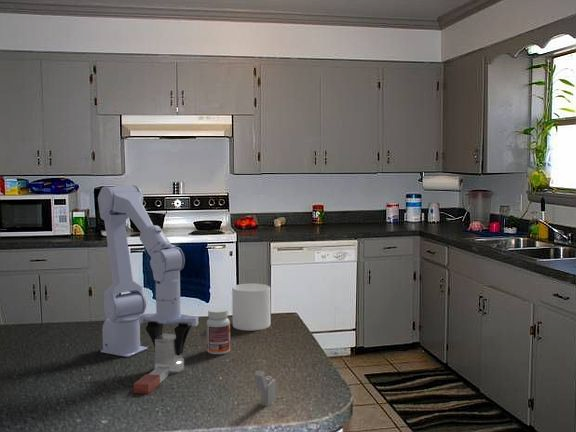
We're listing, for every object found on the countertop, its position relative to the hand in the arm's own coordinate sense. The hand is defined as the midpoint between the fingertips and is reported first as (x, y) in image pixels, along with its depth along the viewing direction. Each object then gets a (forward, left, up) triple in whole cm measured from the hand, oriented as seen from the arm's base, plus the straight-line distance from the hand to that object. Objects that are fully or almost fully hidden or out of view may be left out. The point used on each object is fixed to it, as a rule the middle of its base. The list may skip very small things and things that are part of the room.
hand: (169, 353), depth 143 cm
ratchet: (+2, -6, -4) cm, 7 cm away
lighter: (+31, -8, -4) cm, 32 cm away
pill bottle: (+3, +17, -4) cm, 18 cm away
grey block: (0, 0, -2) cm, 2 cm away
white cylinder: (-2, +43, -4) cm, 43 cm away
